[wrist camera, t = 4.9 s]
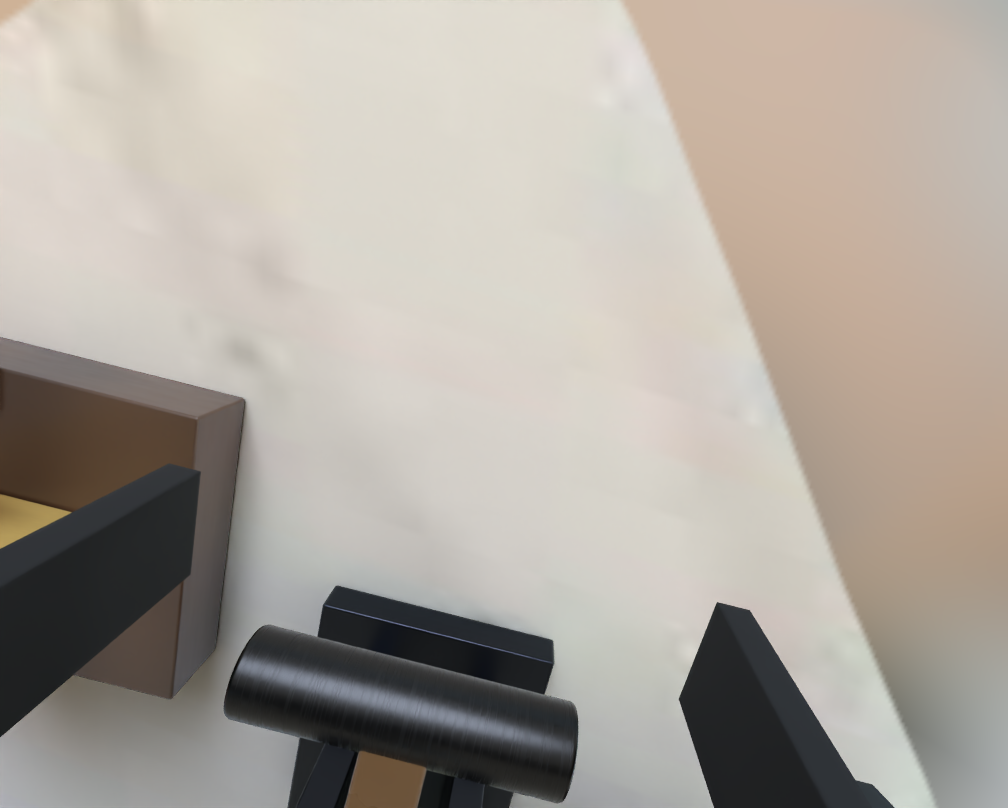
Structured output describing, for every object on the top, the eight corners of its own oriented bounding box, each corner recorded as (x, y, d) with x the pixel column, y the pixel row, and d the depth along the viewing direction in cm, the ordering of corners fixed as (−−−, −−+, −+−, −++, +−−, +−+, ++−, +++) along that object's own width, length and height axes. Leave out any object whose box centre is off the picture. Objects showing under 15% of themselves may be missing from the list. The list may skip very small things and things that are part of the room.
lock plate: (-91, 573, 20) (-185, 617, 17) (-105, 306, 17) (-218, 312, 15) (216, 651, 20) (167, 707, 17) (246, 395, 17) (195, 416, 15)
